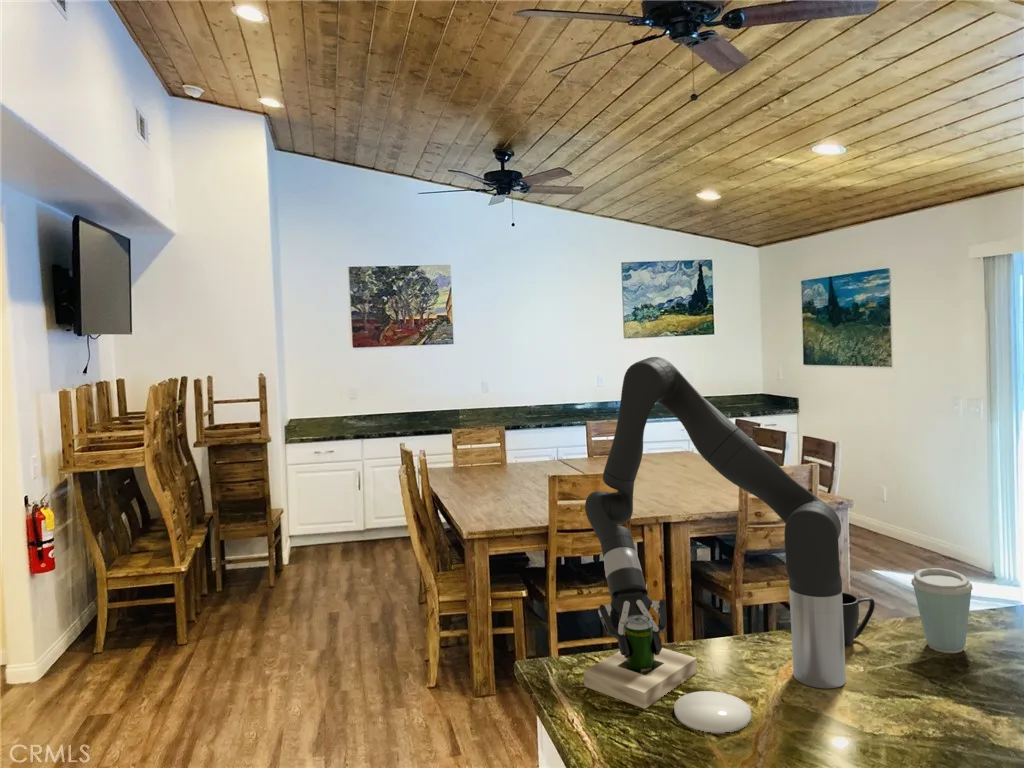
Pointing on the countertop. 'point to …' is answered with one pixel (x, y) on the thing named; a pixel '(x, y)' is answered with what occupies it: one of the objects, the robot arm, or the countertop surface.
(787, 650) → the countertop surface
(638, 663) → the beer can
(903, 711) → the countertop surface
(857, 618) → the mug
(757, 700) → the countertop surface
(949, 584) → the disposable coffee cup
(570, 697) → the countertop surface
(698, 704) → the white round disc
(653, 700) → the beige rectangular frame
